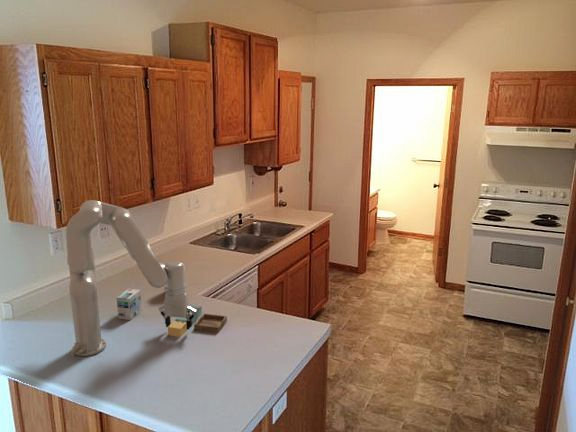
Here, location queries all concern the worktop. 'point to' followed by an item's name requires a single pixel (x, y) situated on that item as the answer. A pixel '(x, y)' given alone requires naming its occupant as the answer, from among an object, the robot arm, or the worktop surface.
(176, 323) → the stub
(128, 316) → the light bulb box
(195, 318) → the mint slotted bar
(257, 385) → the worktop surface
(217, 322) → the tray
